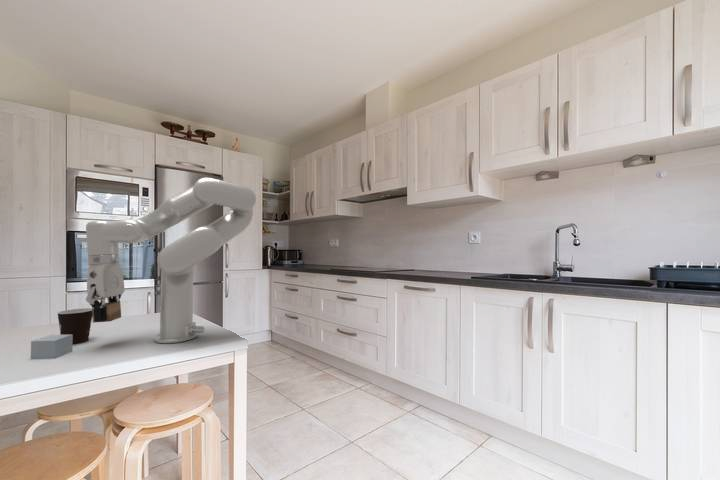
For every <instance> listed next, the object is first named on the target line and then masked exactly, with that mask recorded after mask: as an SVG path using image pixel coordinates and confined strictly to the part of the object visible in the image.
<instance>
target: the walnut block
mask: <svg viewBox="0 0 720 480" xmlns="http://www.w3.org/2000/svg"><path fill="white" fill-rule="evenodd" d="M121 307H122V305H121V301H120V302H110V303H108V302H105V305H104V308H106V315H107V320H106V321H99V322H98V323H105V322H106V323H107V322H112V321H115V320H117V319H120V318H122V308H121ZM92 323H97V322H95V321H94V309H92Z"/></svg>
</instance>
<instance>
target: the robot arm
mask: <svg viewBox="0 0 720 480" xmlns="http://www.w3.org/2000/svg"><path fill="white" fill-rule="evenodd" d="M256 203H257V195H256V193H255V191H254V190H253V189H251V188H250V187H248V186H246V185H242V184H238V183H233V182H230V181H225V180H221V179H217V178H213V177H202V178H199V179H198V180H196V182H195V183H194V185H193V186H191V187H189V188H186V189H184V190H183V191H181V192H179V193H177V194H176V193H175V194H174V195H172V196H170V197H168V198H166V200H164V201H163V202H161V204H160V205H159V206H158V207H157V208H156V209H155V210H152V211H151V212H150V213H148V214H145V215H144V216H142V217H140V218H137V219H131V218H130V219H121V220H114V221H113V220H110V221H109V220H93V221H92V220H91V221H89V222H87V223H86V226H85V233H86V234H85V237H86V249H87V251H86V252H87V264H88V265H87V271H86V272H87V273H86V275H87V276H86V293H87V295H86V297H85V301H86V303H88V304H89V306H91V308H92V309H94V321H95V322H96V323H100V322H99V321H106V320H107V315H106V308H104V305H105V303H106V300H107V303H110V302H120V303H121V300H120V299H121V298H122V295H123V293H125V281H124V275H123V269H122V265H121V263H120V256H119V255H120V251H119V243H124V244H141V243H143V242H145V241H147V240H149V239H151V238H153V237H155V236H157V235H159V234H161V233H162V232H164V231H166V230H169V229H170V228H171V227H174V226H176V225H178V224H180V223H181V222H183V221H184V220H188V219H189V218H191V217H192V216H194V215H196V214H198V213H201V212H202V211H204V210H206V209H208V208H210V207H212V206H214V205H217V206H222V207H225V208H230V209H229V211H227V213H225V214H223V215H222V216H220V217H219V218H218V219H216V220H215V221H213V222H210V223H209V224H208V225H202V226H201V225H200V226H199V227H198V226H197V228H194V229H192V230H190V232H188V233H187V234H185V235H183V236H181V237H180V238H178V239H176V240H174V241H173V242H171V243H169V244H168V245H166V246H165V247H163V248H162V249H161V250H160V251H159V253H158V255H157V260H156V261H157V265H158V267H159V268H160V270H161V277H160V279H161V280H160V299H159V300H160V301H159V302H160V304H159V305H160V306H159V307H160V308H159V309H160V310H159V311H160V312H159V313H160V314H159V315H160V316H159V333H158V334H156V335H155V336H154V338H153V340H154V342H155V343H159V344H176V343H181V342H186V341H190V340H193V339H195V338H196V337H197V336H198V334H203V333H205V331H206V328H205V327H204V326H203V325H197V322H194V320H193V319H194V316H193V315H194V307H193V306H194V300H193V299H194V275H195V274H194V273H195V270H194V269H195V266H196V265H198V264H199V263H201V262H203V261H204V260H206V259H207V258H208V257H209V258H210V256H212V255H214V254H215V253H216V252H217V251H219V249H221V247H222V246H223V245H225V244H227V243H228V242H230V241H232V240H233V239H234V238H235V237H237V236H238V235H240V234H241V233H242V232H244V231H245V230H246V229H247V228H248V227H249V225H250V223H251V221H252V220H253V216H254V206H255V205H256Z"/></svg>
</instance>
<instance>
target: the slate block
mask: <svg viewBox="0 0 720 480" xmlns="http://www.w3.org/2000/svg"><path fill="white" fill-rule="evenodd" d="M72 342H73V335H60V334H49V335H47V336H44V337H40V338H37V339H34V340H32V341H30V360H39V359H40V360H44V359H45V360H46V359H48V360H49V359H56V358H59V357H61V356H62V357H63V356H64V355H66V354H68V353H72V352H73V345H72Z"/></svg>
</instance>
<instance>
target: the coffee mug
mask: <svg viewBox="0 0 720 480" xmlns="http://www.w3.org/2000/svg"><path fill="white" fill-rule="evenodd" d="M57 319H58V327H59V335H73V342H72V346H73V345H78V344H83V343H85V342H89V337H90V331H91V326H92V322H93V319H92V307H90V308H88V307H84V308H83V307H82V308H73V309H65V310H60V311H58V312H57Z"/></svg>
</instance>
